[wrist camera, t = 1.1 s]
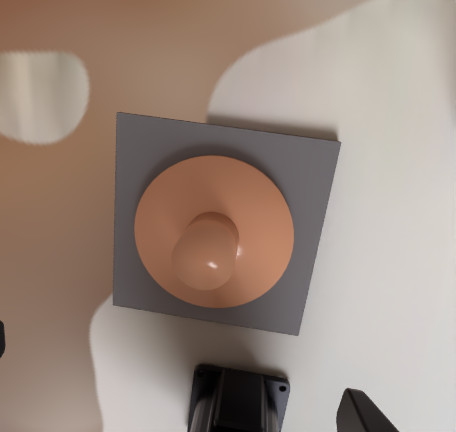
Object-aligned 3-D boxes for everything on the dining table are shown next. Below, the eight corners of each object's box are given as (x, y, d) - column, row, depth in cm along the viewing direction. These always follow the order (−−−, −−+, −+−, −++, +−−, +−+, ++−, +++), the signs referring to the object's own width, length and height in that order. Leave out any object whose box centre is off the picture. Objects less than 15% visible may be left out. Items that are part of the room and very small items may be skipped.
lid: (278, 311, 21) (282, 356, 17) (136, 288, 21) (108, 326, 17) (306, 166, 18) (318, 180, 14) (142, 144, 19) (111, 152, 15)
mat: (297, 330, 22) (298, 336, 21) (116, 300, 22) (112, 305, 22) (338, 141, 18) (341, 142, 17) (121, 112, 19) (116, 112, 18)
